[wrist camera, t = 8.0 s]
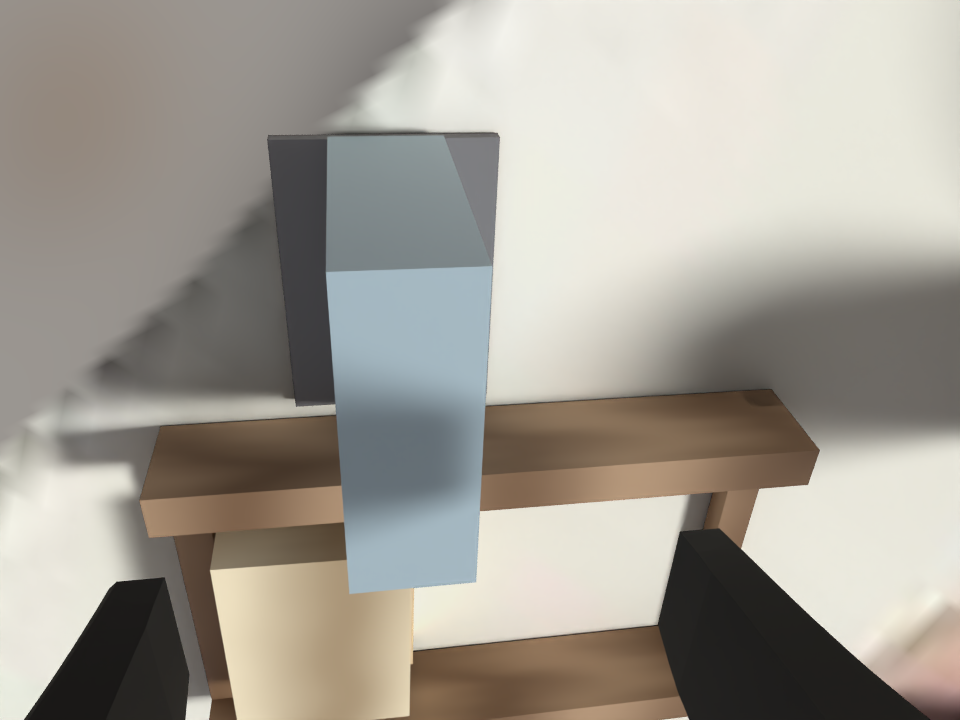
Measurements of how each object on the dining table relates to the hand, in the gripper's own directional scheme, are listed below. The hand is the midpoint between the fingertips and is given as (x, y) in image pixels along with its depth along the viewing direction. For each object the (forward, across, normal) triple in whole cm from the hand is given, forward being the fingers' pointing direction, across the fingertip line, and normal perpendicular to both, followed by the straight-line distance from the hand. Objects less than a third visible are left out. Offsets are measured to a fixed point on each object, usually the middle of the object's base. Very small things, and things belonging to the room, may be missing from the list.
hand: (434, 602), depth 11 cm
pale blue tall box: (+10, 0, 0) cm, 10 cm away
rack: (+10, -2, +10) cm, 14 cm away
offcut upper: (+9, +2, +10) cm, 13 cm away
